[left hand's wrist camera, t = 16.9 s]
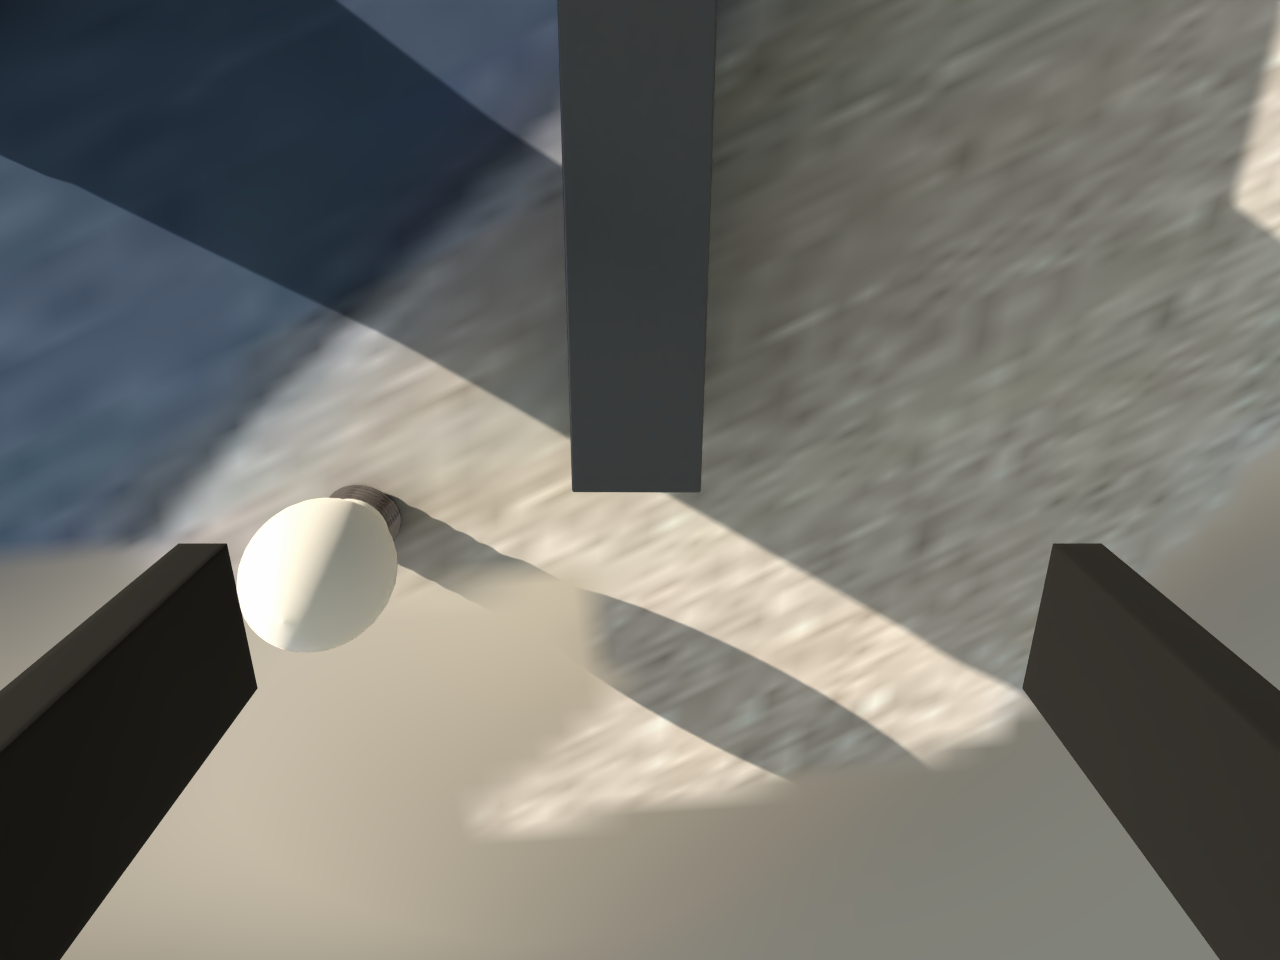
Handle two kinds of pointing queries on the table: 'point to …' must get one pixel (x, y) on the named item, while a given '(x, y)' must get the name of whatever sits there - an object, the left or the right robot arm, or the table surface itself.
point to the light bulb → (321, 570)
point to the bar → (636, 237)
